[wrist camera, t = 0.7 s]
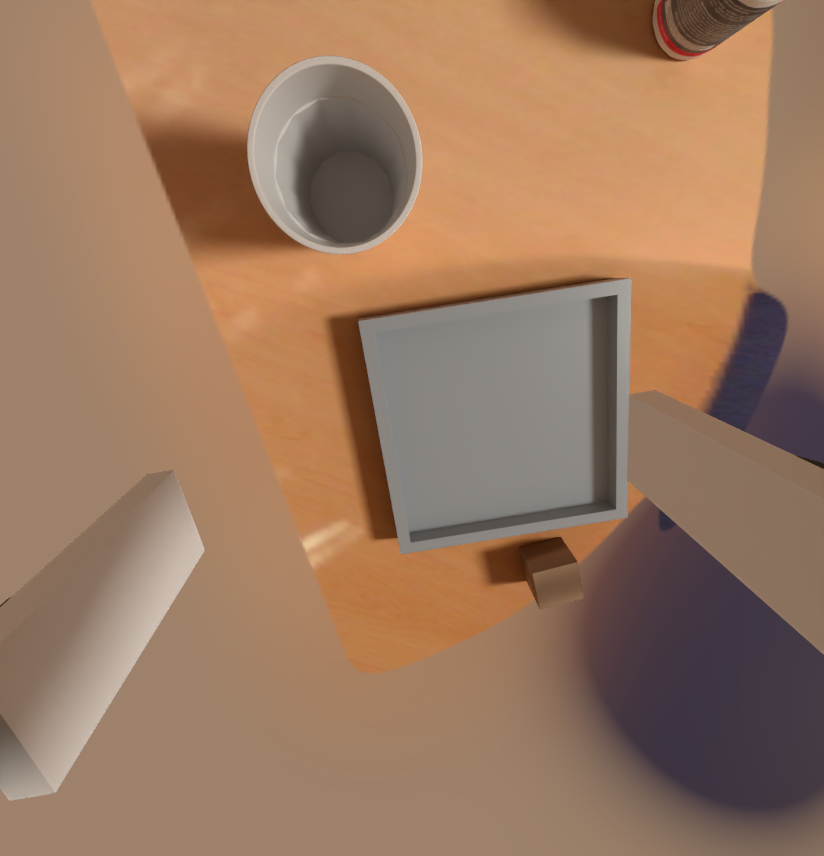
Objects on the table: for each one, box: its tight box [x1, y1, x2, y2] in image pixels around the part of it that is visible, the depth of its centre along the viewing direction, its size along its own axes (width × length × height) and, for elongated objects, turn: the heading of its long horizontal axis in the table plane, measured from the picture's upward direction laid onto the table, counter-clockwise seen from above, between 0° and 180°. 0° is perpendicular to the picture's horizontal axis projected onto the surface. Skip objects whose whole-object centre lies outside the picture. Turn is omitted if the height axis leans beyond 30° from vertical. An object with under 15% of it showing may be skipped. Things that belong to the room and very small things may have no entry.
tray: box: [358, 278, 631, 554], centre depth 36 cm, size 20×20×2 cm
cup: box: [247, 56, 422, 254], centre depth 26 cm, size 8×8×12 cm
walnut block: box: [520, 537, 584, 609], centre depth 41 cm, size 4×4×4 cm
